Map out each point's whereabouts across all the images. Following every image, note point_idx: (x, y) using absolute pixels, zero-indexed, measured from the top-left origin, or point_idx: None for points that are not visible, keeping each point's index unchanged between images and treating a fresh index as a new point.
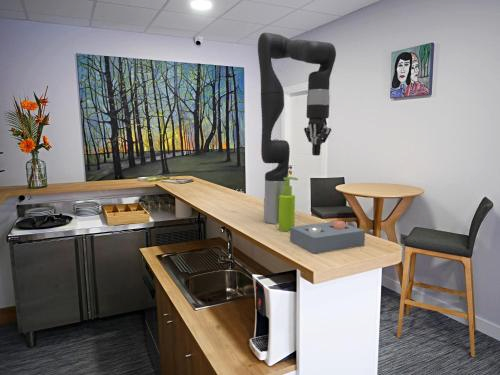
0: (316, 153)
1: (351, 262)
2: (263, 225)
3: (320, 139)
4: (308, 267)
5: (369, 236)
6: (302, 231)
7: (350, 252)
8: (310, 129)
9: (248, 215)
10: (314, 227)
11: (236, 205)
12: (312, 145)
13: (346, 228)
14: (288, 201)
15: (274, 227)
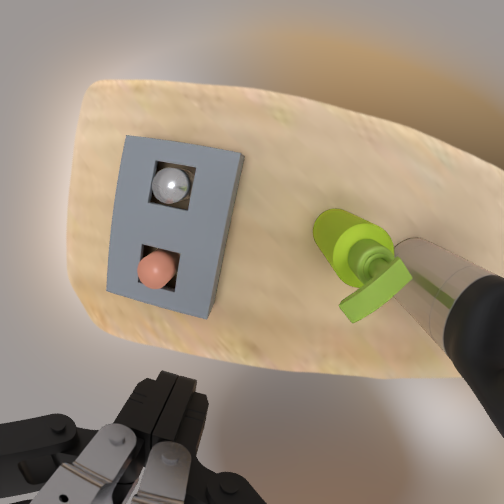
0: (146, 379)
1: (74, 169)
2: (405, 211)
3: (21, 421)
4: (104, 82)
5: (162, 344)
6: (183, 148)
7: (107, 214)
8: None
9: (489, 254)
10: (171, 187)
11: None
12: (196, 446)
13: None
14: (335, 234)
15: (372, 221)
